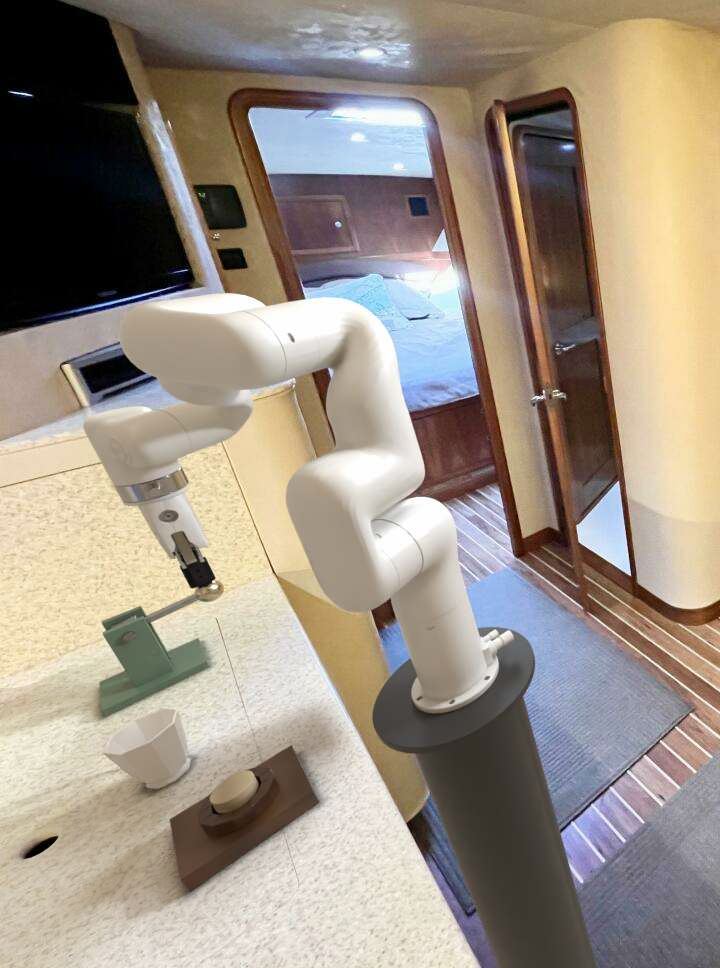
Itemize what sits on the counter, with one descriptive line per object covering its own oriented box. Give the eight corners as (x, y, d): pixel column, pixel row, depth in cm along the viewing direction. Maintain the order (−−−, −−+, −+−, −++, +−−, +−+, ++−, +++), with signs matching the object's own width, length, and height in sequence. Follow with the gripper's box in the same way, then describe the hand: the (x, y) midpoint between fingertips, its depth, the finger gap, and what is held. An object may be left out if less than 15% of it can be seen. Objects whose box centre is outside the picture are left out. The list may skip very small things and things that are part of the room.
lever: (226, 588, 93) (215, 572, 92) (230, 596, 91) (219, 580, 89) (121, 638, 84) (108, 621, 83) (123, 648, 82) (109, 630, 80)
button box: (297, 755, 72) (287, 734, 70) (319, 802, 65) (308, 780, 64) (177, 831, 63) (162, 809, 62) (189, 892, 57) (172, 869, 56)
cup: (141, 810, 66) (109, 765, 63) (118, 773, 71) (88, 730, 68) (212, 763, 72) (186, 719, 69) (186, 731, 77) (161, 689, 74)
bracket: (201, 642, 94) (171, 588, 90) (209, 666, 88) (178, 609, 84) (102, 687, 86) (64, 629, 81) (105, 716, 80) (64, 656, 76)
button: (255, 773, 66) (249, 763, 65) (262, 793, 63) (256, 783, 63) (213, 799, 63) (206, 789, 62) (219, 821, 60) (212, 811, 60)
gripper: (193, 489, 80) (240, 587, 87) (180, 465, 90) (224, 556, 96) (122, 510, 75) (178, 613, 82) (116, 482, 84) (167, 577, 91)
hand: (203, 582), depth 89 cm, fingers closed
